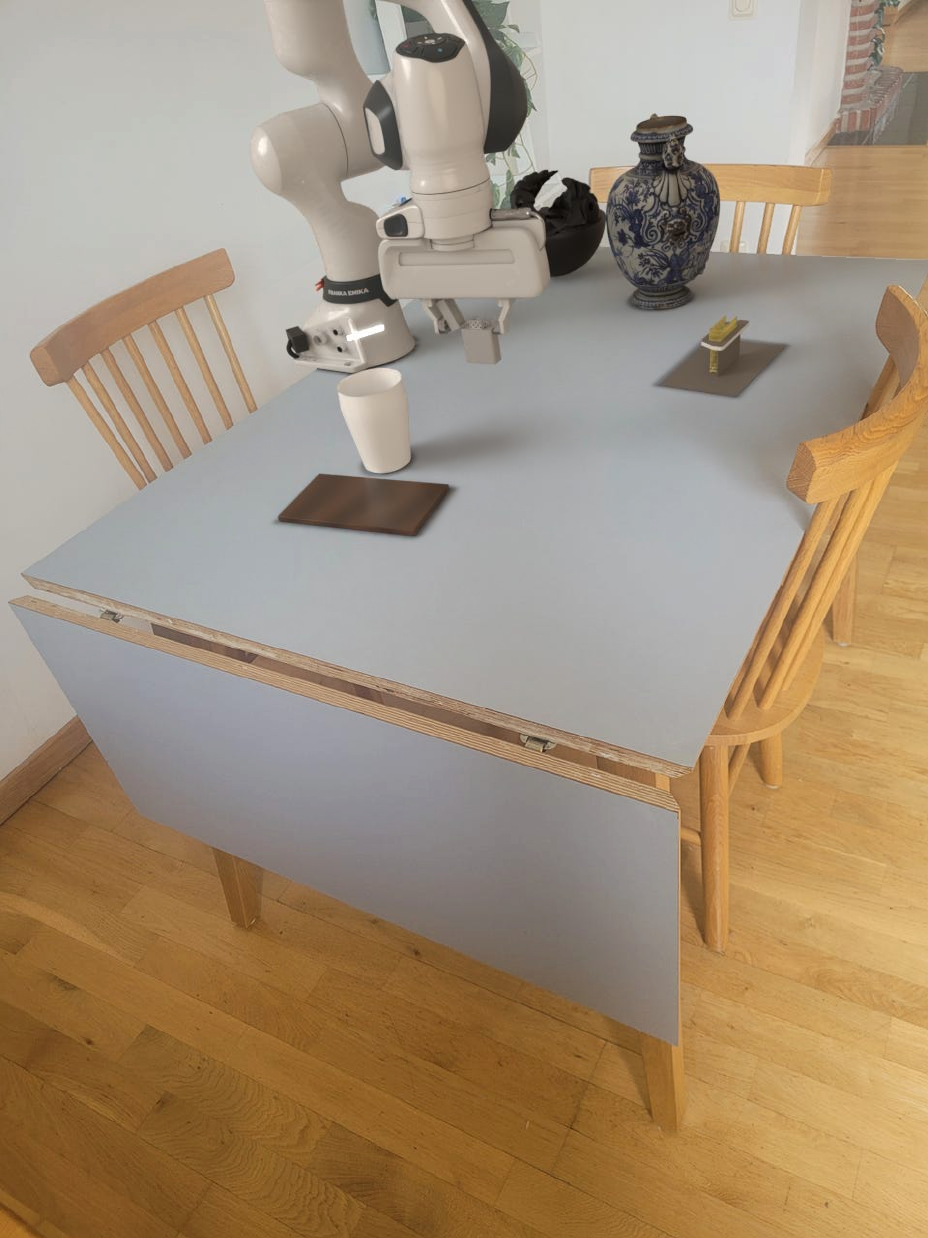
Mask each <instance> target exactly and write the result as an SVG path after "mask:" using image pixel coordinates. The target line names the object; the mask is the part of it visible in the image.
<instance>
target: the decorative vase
mask: <svg viewBox="0 0 928 1238" xmlns="http://www.w3.org/2000/svg"><path fill="white" fill-rule="evenodd" d="M693 132H694V127H693V126H692V124H690V123H688V119H687V117H686V116H684V115H683V116H682V115H662V116H659V115H658V114H657V113H656V112H655V113H652V114H651V115H650V116H649V118H648V119H645V120H643V121H641V122H639V123H637V124H636V127H635V130H634V131H633V132H632V133H631V134H630V141H631V142H634V143H637V145H638V147H639V150H640V151H639V153H638V154H637V155H638V158H639V162H638V163H637V164H636V166H634V167H632V168H631V169H630V168H629V170H627V171H625V172H623V173H622V174H621V175H620V176H619V177H618V178H617V179H616V180H615V181H614V182H613V184H612V186H611V188H610V190H609V193H608V195H607V196H608V197H607V201H606V206H605V208H606V210H605V214H606V225H605V227H606V234H607V239H608V244H609V246H610V250H611V253H612V255H613V258H614V260H615V262H616V264H617V267H618V268H619V270H620V272H621V274H622V275H623V276H624V277H625V279H626V280H627V281H628V283H630V284H631V285H632V286H633V287H635V288H636V289H635V290H634V291H633V292H632V294H631V296H630V302H631V304H632V305H634V306H635V307H637V308H639V309H644V310H652V311H655V310H669V309H674V308H678V307H680V306H684V305H685V304H687V303H689V301H691V300H692V298H693V292H692V290H691V289H690V288H689V287H688V286H686V285H688V284H689V283H690V282H692V281H694V280H696V278H697V277H698V276H700V275H703V273H704V271H705V269H706V264H707V262H708V261H709V259H710V258H709V257H710V252H711V249H712V248H713V245H714V242H715V240H716V239H715V238H716V235H717V231H718V226H719V221H720V213H721V194H720V188H719V184H718V181H717V179H716V177H715V175H714V174H713V172H712V171H710V169H708V168H707V167H705V165H702V164H701V163H699V162H697V161H694V160H691V159H689V158H687V157H686V155H685V153H686V151H687V149H686V147H685V141H686V137H687V136H688V135H690V134H692V133H693Z"/></svg>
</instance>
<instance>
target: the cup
mask: <svg viewBox="0 0 928 1238" xmlns="http://www.w3.org/2000/svg"><path fill="white" fill-rule="evenodd" d="M336 390H337V395H338V401H339V407H340V410H341V413H342V415H343V419H344V421H345V424H346V426H347V428H348V430H349V433H350V435H351V437H352V440H353V442H354V444H355V447H356V449H357V451H358V454H359V456H360V459H361V461H362V463H363V466H364V468H365V469H366V470H367V471H368V472H370V473H374V474H389V473H393V472H396V471H398V470H401V469H403V468H404V467H406V466H407V465H408V464H409V463H410V462H411V459H412V454H411V453H412V451H411V436H410V418H409V403H408V395H407V391H406V388H405V384H404V381H403V376H402V374H401V372H400V371H399V370H397V369H394V368H389V367H376V368H367V369H364V370H362V371H359V372H355V373H351V374H350V375H348V376H346V377H344V378H343V379H342V380H340V382H338V384H337V387H336Z"/></svg>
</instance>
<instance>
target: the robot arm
mask: <svg viewBox="0 0 928 1238" xmlns="http://www.w3.org/2000/svg"><path fill="white" fill-rule="evenodd" d="M377 1H378V2H386V3H392V4H395V5H399V6H403V7H405V8H408V9H411V10H413V11H416V12H417V13H418V14H420V15H422V17H424V18H425V20H427V21H428V23H429V24H430V27H431V28H432V30H433V31H434V32H428V33H422V34H417V35H413V36H410V37H408V38H406V39H405V40H403V41H401V42H400V43H398V44H397V46H396V47H395V48H394V49H393V52H392V68H391V70H390V71H389V72H388V73H387V74H385V75H384V76H383V77H381V78H379V79H376V80H375V81H374V82H373V81H372V80H371V79H370V77H368V75H367V73H366V72H365V71H364V69H363V67H362V65H361V64H360V61H359V59H358V57H357V54H356V52H355V49H354V46H353V42H352V39H351V34H350V29H349V25H348V20H347V15H346V10H345V4H344V0H262V2H263V6H264V11H265V16H266V21H267V26H268V30H269V34H270V39H271V43H272V48H273V54H274V55H275V57H276V59H277V61H278V62H279V64H280V65H281V66H282V67H283V68H284V69H285V70H286V71H288V72H289V73H291V74H293V75H295V76H297V77H299V78H303V79H306V80H309V81H312V82H313V83H314V85H315V87H316V90H317V93H318V97H319V102H317V103H315V104H311V105H308V106H303V107H299V108H296V109H292V110H289V111H284V112H281V113H279V114H277V115H275V116H273V117H271V118H269V119H267V120H266V121H263V122H262V123H260V124H259V125H256V126H255V127H254V129H253V131H252V133H251V136H250V141H249V159H250V164H251V167H252V169H253V172H254V174H255V176H256V177H257V179H258V181H259V182H260V183H261V184H262V185H263V186H264V187H265V188H266V189H267V190H268V191H269V192H271V193H273V194H274V195H276V196H279V197H281V198H282V199H284V200H286V201H287V202H289V203H290V204H291V205H292V206H293V207H294V208H296V209H297V210H298V211H299V212H300V214H301V215H302V216H303V217H304V218H305V220H306V222H307V223H308V224H309V226H310V229H311V231H312V232H313V233H312V234H313V235H314V238H315V241H316V244H317V248H318V251H319V253H320V257H321V261H322V264H323V267H324V271H325V274H324V276H323V277H321V278H320V281H318V282H316V283H315V284H314V287H316V289H315V291H316V292H319V291H320V290H321V289H322V298H321V300H320V301H319V302H318V304H317V305H316V306H315V307H314V308H313V310H312V311H311V312H310V313H309V315H308V316H307V317H306V318H305V320H304V321H303V322H302V325H301V327H299V325H297V326H296V325H295V326H293V327H289V328H286V329H285V334H286V336H287V343H286V348H285V349H286V352H287V354H288V355H289V356H290V357H291V358H293V364H294V366H299V367H305V368H306V367H307V368H313V369H321V370H327V371H333V372H335V371H336V372H342V373H347V374H348V373H349V374H354V373H357V372H360V371H364V370H368V369H370V368H373V367H375V366H380V365H383V364H387V363H391V362H393V361H395V360H398V359H400V358H402V357H404V356H406V355H407V354H408V353H410V352H411V351H412V350H413V349H414V348H415V346H416V340H415V338H414V337H413V334H412V332H411V330H410V328H409V326H408V323H407V320H406V318H405V315H404V312H403V309H402V306H401V303H400V300H420V303H421V304H420V305H421V308H422V309H423V310H424V312H425V314H426V315H427V316H428V317H429V319H430V320H431V321H432V322H433V328H434V333H435V334H436V335H448V334H449V332H452V330H451V329H450V327H449V325H448V324H447V322H446V320H445V318H444V317H443V315H442V313H441V312H440V310H439V308H438V307H437V305H436V301H438V300H439V299H454V300H457V299H459V300H460V299H462V300H463V299H466V300H467V299H470V300H471V299H473V300H475V299H497V306H498V308H502V309H501V312H500V314H499V315H496V316H495V317H494V318H493V319H492V320H491V324H492V327H493V328H494V329H493V334H497V335H498V336H499V335H500V336H502V335H507V333H509V331H510V320H509V316H510V314H511V312H512V309H513V307H514V306H515V303H516V299H537V298H539V297H540V296H541V295H542V294H543V293H544V292H545V291H546V289H547V288H548V287H549V285H550V282H551V277H550V270H549V264H548V258H547V253H546V249H545V243H546V231H545V223H544V220H543V219H542V217H541V216H540V215H539V214H537V213H535V212H533V211H531V209H530V208H518V209H511V208H495V204H494V196H493V195H494V194H493V188H492V180H491V171H490V168H489V166H488V163H487V161H486V157H485V155H489V154H490V155H491V154H496V153H497V154H498V153H504V152H506V151H508V150H509V148H510V147H511V146H512V145H513V144H514V142H515V141H516V139H517V138H518V136H519V135H520V134H521V131H522V129H523V127H524V125H525V123H526V120H527V117H528V109H529V103H528V101H529V100H528V94H527V89H526V85H525V82H524V79H523V76H522V75H521V72H520V70H519V69H518V67H517V66H516V64H515V62H514V61H513V60H512V59H511V57H510V56H509V55H508V54H507V53H506V51H505V50H504V49H503V48H502V47H501V46H500V45H499V43H498V41H497V40H496V39H495V38H494V36H493V34H492V33H491V31H490V30H489V28H488V26H487V24H486V23H485V21H484V19H483V17H482V15H481V14H480V12H479V10H478V9H477V6H476V5H475V3H474V2H473V0H377ZM384 167H387V168H389V169H391V170H393V171H409V173H410V179H409V180H410V181H409V182H410V185H409V190H410V195H411V197H410V198H407V199H405V200H404V201H402V202H400V203H399V204H397V205H395V206H394V207H392V208H391V209H389V210H387V211H386V212H384V213H383V214H382V215H381V216H379V215H378V214H377V213H376V211H375V210H374V209H372V208H371V207H369V206H367V205H364V204H362V203H358V202H355V201H350V200H348V199H347V197H346V196H345V193H344V191H343V187H342V183H343V182H344V181H348V180H351V179H354V178H357V177H361V176H364V175H368V174H371V173H374V172H377V171H379V170H381V169H382V168H384ZM531 216H534V217H536V218H531Z"/></svg>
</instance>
